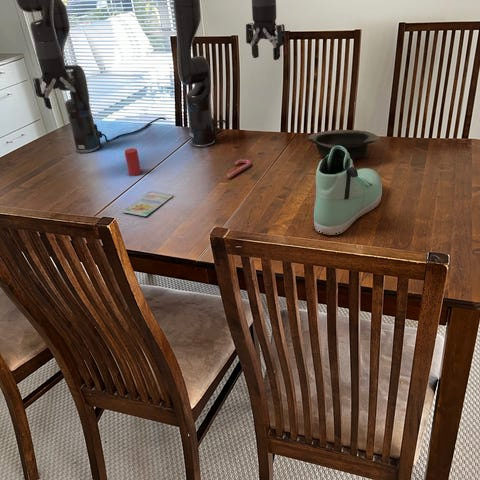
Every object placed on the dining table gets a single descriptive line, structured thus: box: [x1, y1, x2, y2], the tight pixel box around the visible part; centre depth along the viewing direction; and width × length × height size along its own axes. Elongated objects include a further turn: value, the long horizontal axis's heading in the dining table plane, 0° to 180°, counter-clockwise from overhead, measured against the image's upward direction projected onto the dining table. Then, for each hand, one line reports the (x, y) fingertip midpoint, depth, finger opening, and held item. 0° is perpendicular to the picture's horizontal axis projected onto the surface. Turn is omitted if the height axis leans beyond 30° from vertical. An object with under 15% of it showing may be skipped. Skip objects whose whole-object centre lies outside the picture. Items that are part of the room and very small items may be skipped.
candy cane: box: [226, 158, 252, 180], centre depth 168 cm, size 6×15×2 cm, turn 145°
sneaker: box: [313, 146, 383, 236], centre depth 133 cm, size 14×35×20 cm, turn 152°
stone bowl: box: [307, 129, 380, 162], centre depth 171 cm, size 25×25×9 cm
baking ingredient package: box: [121, 191, 173, 217], centre depth 150 cm, size 9×1×15 cm
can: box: [124, 147, 142, 177], centre depth 170 cm, size 4×4×9 cm
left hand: (62, 106), depth 163 cm, fingers open, 8 cm apart
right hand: (266, 58), depth 157 cm, fingers open, 8 cm apart
